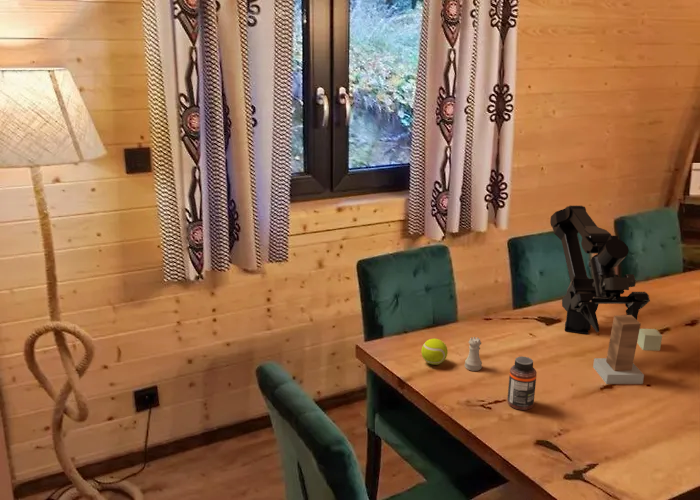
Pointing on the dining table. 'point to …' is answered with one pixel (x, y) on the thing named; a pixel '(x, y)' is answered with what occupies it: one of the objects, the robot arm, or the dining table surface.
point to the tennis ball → (434, 351)
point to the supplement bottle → (522, 384)
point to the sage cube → (649, 339)
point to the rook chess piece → (473, 355)
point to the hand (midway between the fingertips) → (615, 331)
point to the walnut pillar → (623, 342)
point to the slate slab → (617, 373)
